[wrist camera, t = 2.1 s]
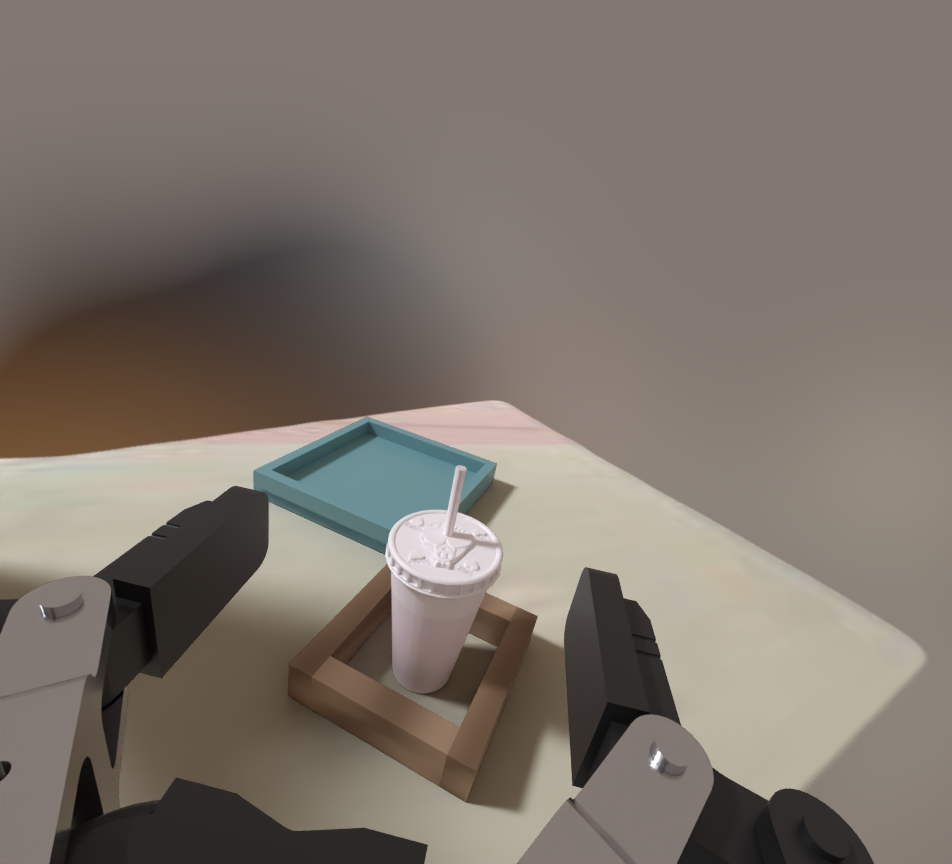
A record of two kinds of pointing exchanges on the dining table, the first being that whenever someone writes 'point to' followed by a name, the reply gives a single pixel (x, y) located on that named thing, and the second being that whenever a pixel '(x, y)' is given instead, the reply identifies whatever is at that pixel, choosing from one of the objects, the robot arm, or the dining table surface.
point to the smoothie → (437, 588)
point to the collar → (396, 717)
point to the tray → (371, 479)
